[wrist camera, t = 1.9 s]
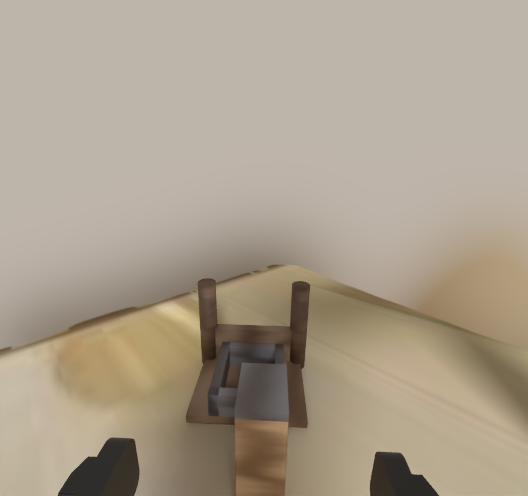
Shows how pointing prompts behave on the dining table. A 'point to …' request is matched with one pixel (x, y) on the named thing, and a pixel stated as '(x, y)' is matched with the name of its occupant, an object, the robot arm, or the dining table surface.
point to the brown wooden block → (261, 429)
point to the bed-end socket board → (247, 357)
